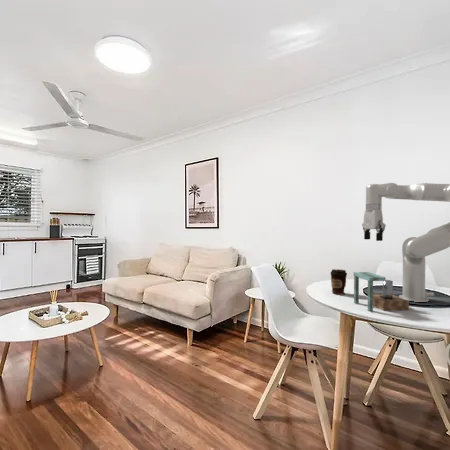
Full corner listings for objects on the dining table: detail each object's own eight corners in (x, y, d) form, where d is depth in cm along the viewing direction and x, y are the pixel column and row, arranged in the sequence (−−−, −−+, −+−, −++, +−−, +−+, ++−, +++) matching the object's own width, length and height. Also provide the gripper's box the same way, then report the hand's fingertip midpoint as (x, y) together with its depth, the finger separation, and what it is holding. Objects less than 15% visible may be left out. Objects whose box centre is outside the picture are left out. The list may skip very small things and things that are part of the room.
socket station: (390, 301, 141) (390, 271, 141) (409, 310, 128) (409, 276, 128) (353, 302, 139) (353, 272, 139) (369, 311, 126) (369, 277, 126)
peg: (380, 305, 136) (381, 279, 135) (388, 304, 136) (389, 279, 136) (386, 307, 132) (386, 281, 132) (394, 307, 132) (394, 281, 132)
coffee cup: (341, 296, 151) (342, 272, 151) (327, 293, 157) (327, 269, 157) (349, 293, 157) (349, 270, 156) (335, 290, 163) (335, 268, 163)
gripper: (357, 208, 159) (356, 238, 160) (378, 207, 142) (377, 241, 143) (369, 208, 161) (369, 238, 161) (391, 207, 143) (391, 241, 144)
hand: (373, 240), depth 152 cm, fingers open, 9 cm apart
